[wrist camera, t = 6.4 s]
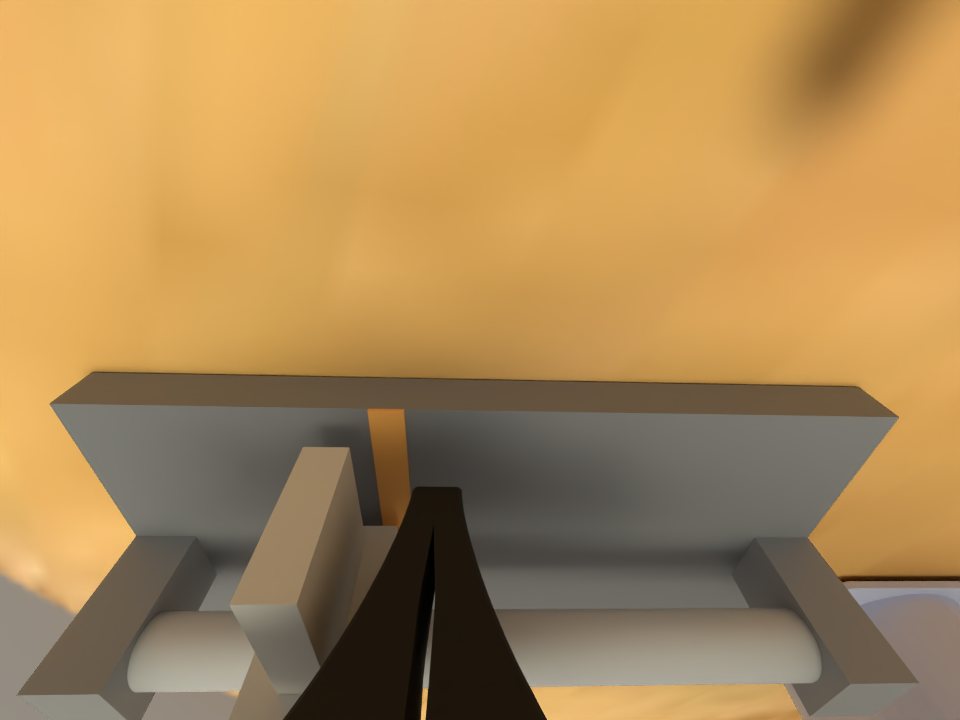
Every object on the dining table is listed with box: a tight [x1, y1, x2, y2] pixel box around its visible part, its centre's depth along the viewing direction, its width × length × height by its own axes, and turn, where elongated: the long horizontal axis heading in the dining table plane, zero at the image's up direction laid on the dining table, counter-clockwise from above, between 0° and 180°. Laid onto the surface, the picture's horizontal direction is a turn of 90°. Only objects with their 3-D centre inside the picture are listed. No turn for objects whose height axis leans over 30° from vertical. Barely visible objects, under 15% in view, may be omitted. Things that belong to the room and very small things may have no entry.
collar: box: [229, 447, 397, 720], centre depth 12 cm, size 9×3×5 cm, turn 178°
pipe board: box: [17, 372, 919, 720], centre depth 14 cm, size 14×24×6 cm, turn 88°
